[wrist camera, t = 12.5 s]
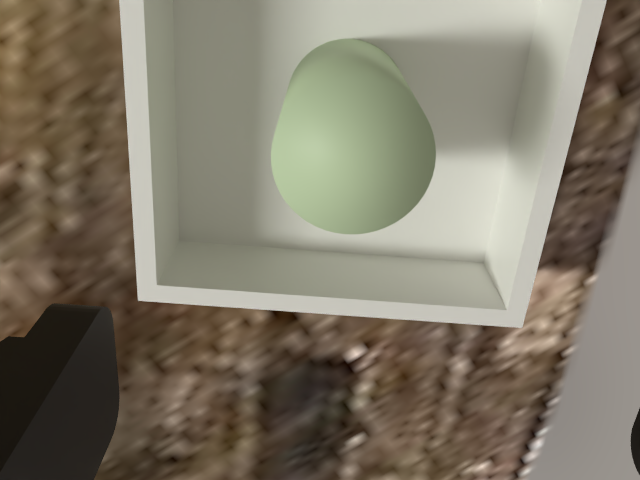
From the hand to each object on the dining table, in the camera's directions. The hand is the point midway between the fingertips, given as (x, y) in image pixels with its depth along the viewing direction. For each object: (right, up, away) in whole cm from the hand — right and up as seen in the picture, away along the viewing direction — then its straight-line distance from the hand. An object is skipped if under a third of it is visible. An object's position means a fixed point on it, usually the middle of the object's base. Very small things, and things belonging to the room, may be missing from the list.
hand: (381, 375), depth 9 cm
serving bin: (0, +8, +17) cm, 19 cm away
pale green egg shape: (0, +8, +17) cm, 19 cm away
